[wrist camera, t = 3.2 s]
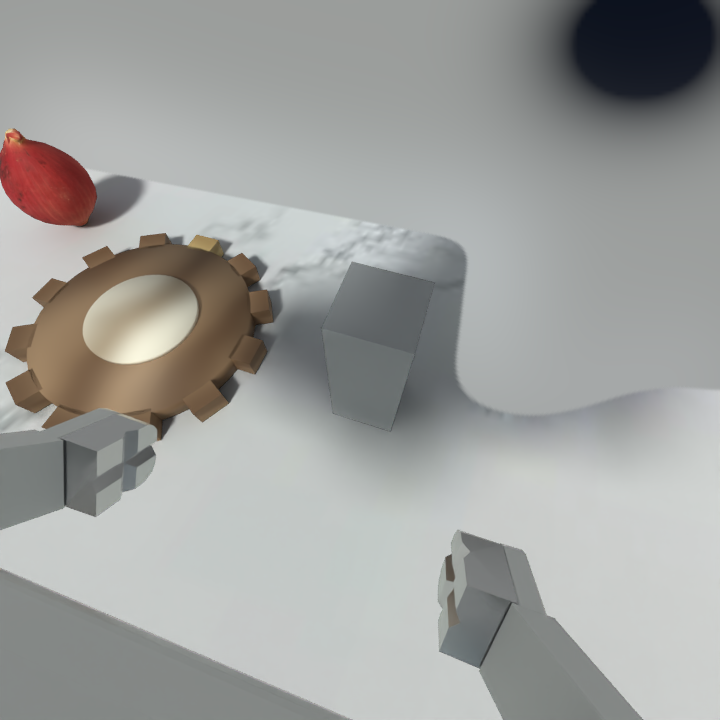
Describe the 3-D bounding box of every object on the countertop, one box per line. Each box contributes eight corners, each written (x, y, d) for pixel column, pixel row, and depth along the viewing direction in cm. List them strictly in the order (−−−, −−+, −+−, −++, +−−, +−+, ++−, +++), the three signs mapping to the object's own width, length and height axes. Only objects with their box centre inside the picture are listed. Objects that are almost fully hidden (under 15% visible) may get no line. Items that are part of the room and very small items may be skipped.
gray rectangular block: (405, 379, 25) (434, 282, 16) (390, 431, 23) (414, 354, 14) (351, 363, 25) (351, 261, 16) (332, 413, 23) (321, 327, 14)
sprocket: (307, 275, 29) (304, 258, 27) (196, 484, 21) (183, 478, 19) (126, 228, 31) (114, 210, 30) (-38, 398, 23) (-68, 386, 21)
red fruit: (54, 255, 30) (-38, 163, 23) (40, 217, 32) (-47, 123, 25) (123, 230, 31) (58, 137, 24) (106, 195, 34) (41, 101, 27)
